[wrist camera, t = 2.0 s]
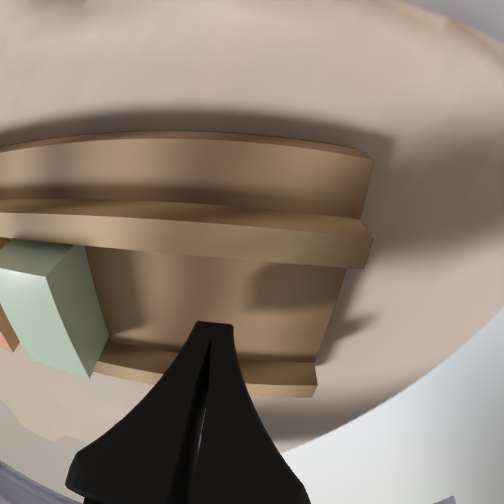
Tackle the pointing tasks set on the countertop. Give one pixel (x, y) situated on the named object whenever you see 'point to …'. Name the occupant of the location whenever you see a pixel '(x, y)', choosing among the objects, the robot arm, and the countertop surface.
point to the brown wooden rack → (199, 240)
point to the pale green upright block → (52, 304)
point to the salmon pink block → (6, 323)
